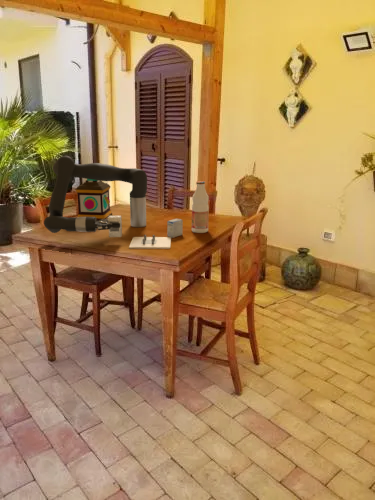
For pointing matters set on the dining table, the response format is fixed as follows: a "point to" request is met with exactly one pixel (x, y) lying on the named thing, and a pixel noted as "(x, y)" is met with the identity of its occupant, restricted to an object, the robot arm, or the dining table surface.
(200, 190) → the fruit juice
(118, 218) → the drive
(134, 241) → the pin tray
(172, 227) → the medicine box
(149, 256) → the dining table surface
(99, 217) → the decorative lantern
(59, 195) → the robot arm
